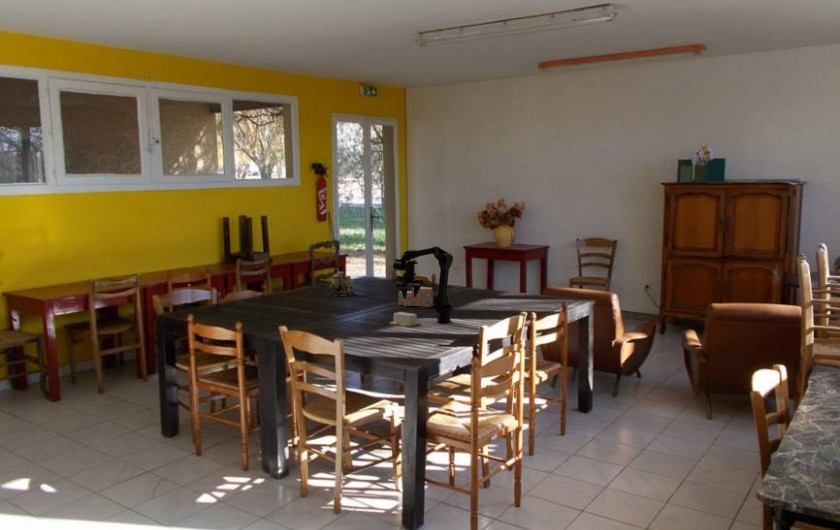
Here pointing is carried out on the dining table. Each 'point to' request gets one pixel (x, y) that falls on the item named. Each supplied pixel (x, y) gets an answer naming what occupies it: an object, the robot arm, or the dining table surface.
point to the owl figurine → (342, 284)
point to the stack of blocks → (417, 297)
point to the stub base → (404, 324)
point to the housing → (405, 318)
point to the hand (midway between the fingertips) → (409, 297)
